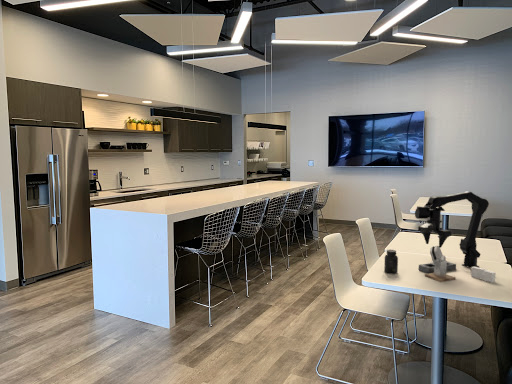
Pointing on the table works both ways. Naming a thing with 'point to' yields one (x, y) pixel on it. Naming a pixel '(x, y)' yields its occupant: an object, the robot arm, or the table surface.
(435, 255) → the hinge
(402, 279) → the table surface
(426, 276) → the walnut pad
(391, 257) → the supplement bottle
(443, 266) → the steel plug
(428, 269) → the grey cinder block
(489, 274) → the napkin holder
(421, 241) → the table surface
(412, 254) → the table surface
